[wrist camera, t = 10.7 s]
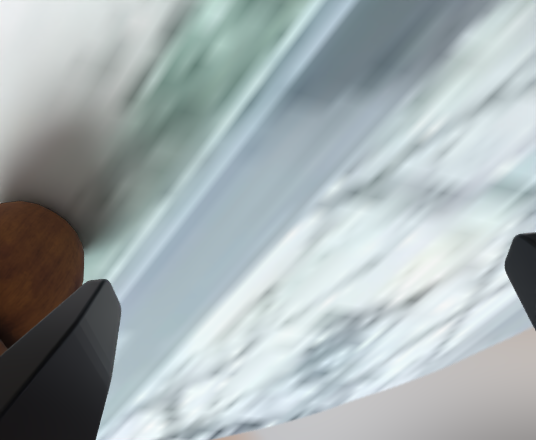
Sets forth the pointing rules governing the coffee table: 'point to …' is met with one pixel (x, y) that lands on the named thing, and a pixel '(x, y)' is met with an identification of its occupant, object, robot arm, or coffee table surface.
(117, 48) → the coffee table surface
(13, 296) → the wooden figurine
